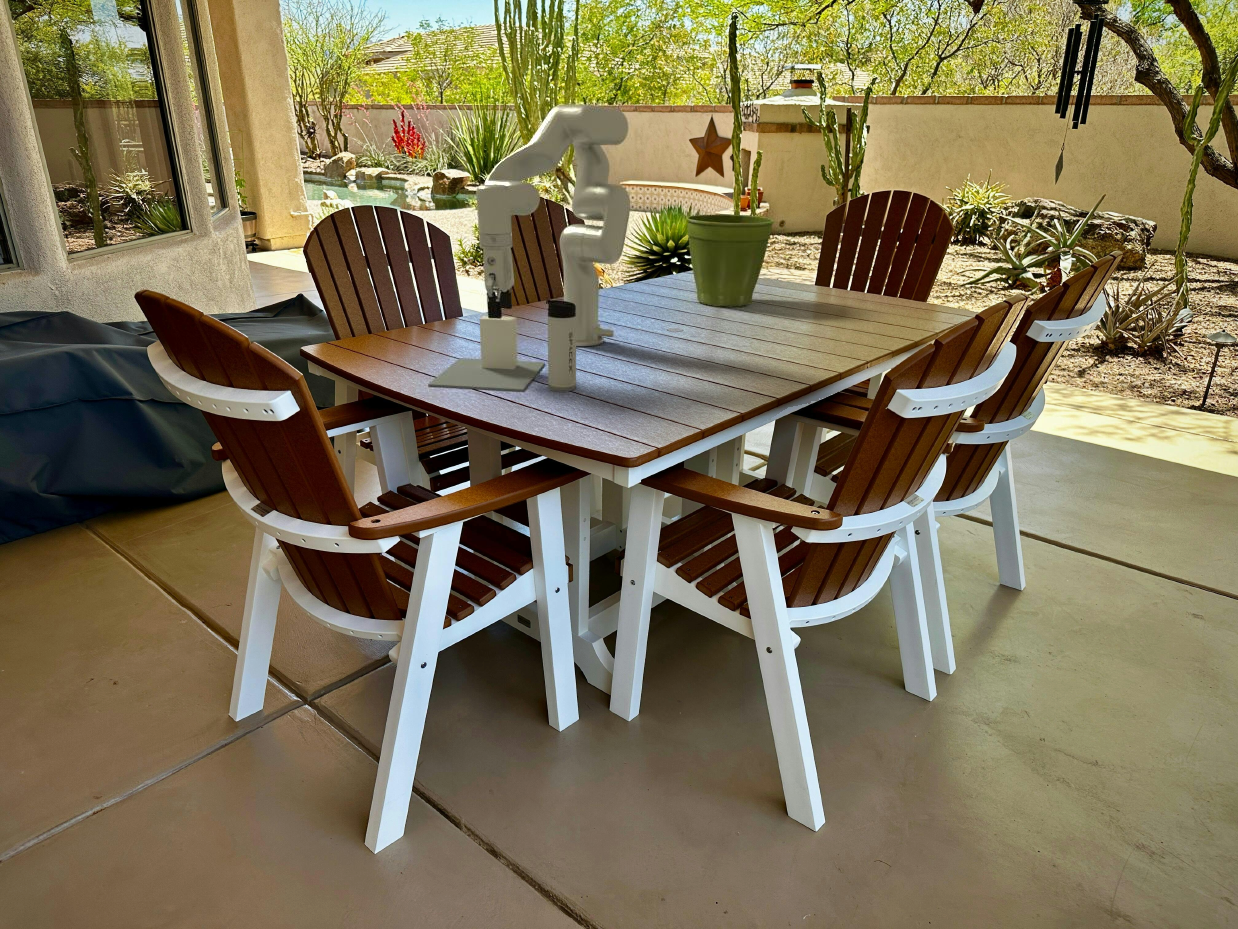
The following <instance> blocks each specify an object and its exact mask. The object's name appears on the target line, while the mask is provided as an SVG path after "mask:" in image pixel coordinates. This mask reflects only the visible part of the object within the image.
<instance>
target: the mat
mask: <svg viewBox="0 0 1238 929" xmlns="http://www.w3.org/2000/svg"><path fill="white" fill-rule="evenodd" d="M545 364H546V362H545V361H529V360H527V361H525V360H518V365H517V366H516V368H515V369H496V368H482V362H481V358H470V357H469V358H466V357H465V358H464V357H459V358H458V359H457V360H455V361H454V362H453V363H452V364H451V365H449V367H447V368H446V369H444V371H443V372H441V373H440V374H438V376H436V377H435V378H433V380H431V381H430V382H429V383H428V387H438V388H450V389H451V388H454V389H455V388H456V389H472V390H492V391H507V392H508V391H509V392H510V391H513V392H524V391H525V390H526V389H527V387H528V386H529V385H530V384H531V382H532V381H533V379H534V378H535V377H536V376H537V375H538V373H539V372H540V371H541V370H542V368H543V367H544V366H545Z"/></svg>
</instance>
